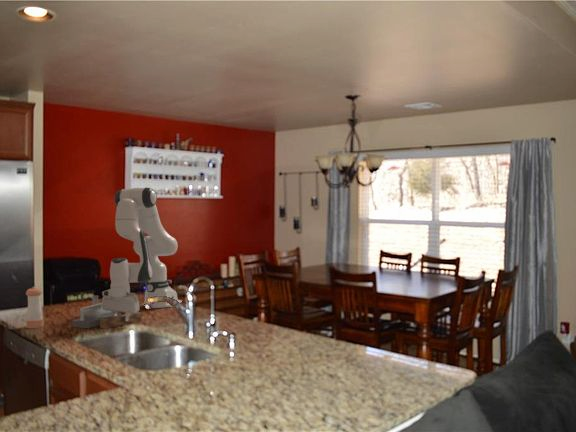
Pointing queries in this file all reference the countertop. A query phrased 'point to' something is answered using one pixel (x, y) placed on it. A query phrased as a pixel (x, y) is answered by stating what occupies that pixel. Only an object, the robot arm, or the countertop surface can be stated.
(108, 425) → the countertop surface
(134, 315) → the walnut rod
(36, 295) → the pepper shaker
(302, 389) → the countertop surface
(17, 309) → the countertop surface
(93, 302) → the flask
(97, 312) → the ridge stand
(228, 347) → the countertop surface
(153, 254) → the robot arm
